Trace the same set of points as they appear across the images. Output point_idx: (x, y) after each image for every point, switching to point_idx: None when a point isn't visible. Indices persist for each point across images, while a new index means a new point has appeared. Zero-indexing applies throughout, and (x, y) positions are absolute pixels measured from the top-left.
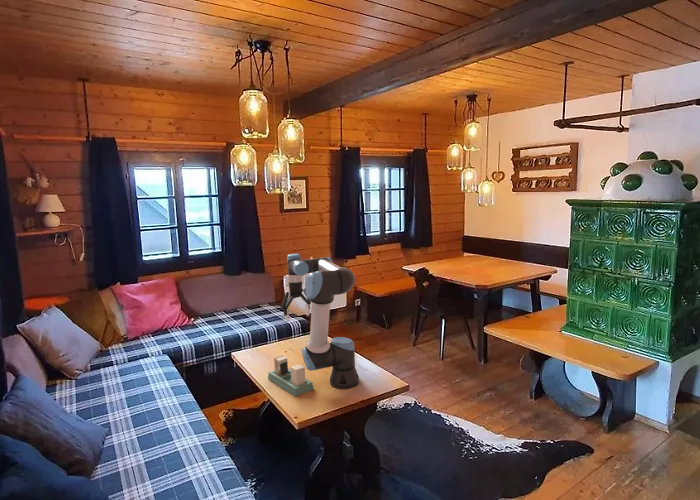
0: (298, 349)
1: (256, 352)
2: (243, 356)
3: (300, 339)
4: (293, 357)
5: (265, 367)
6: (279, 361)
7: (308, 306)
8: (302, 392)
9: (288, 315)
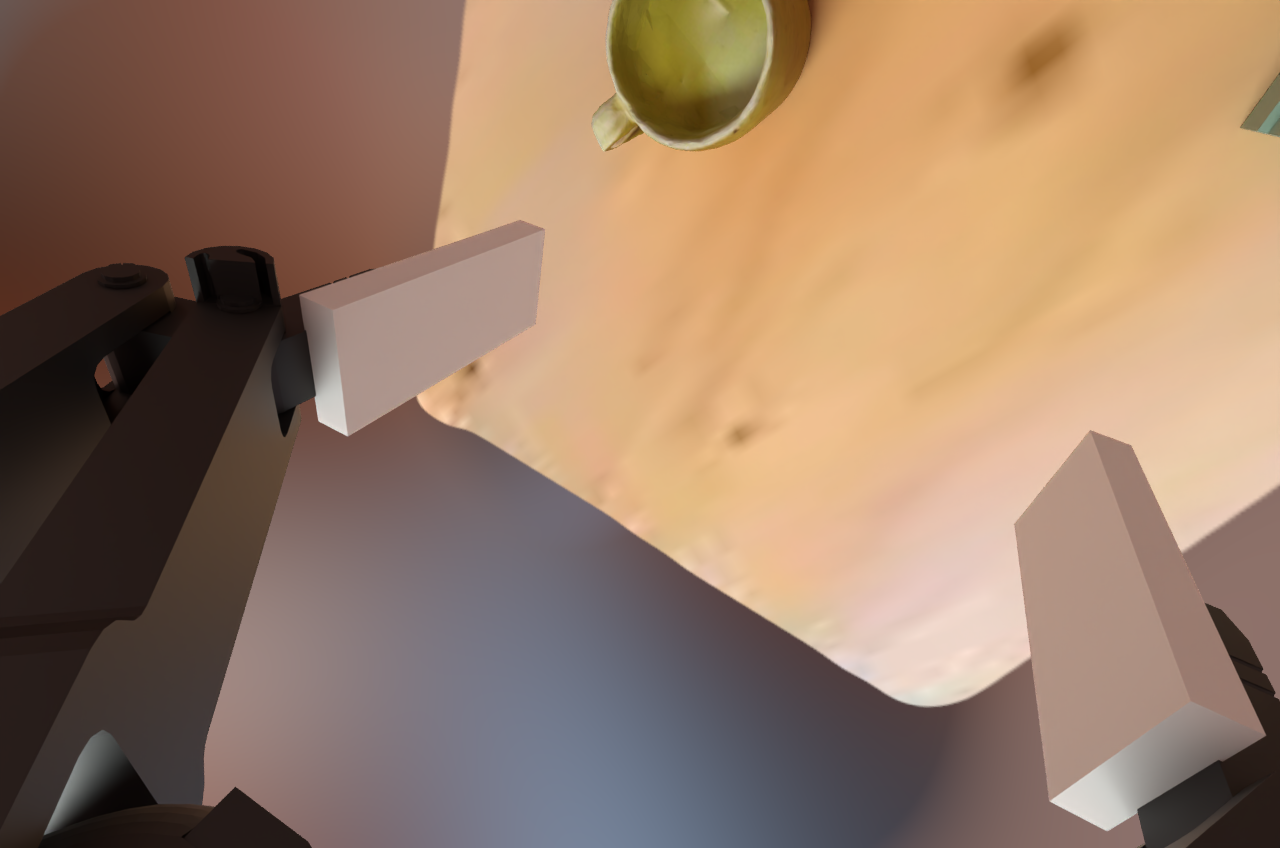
0: (668, 369)
1: (851, 607)
2: (953, 657)
3: (539, 447)
4: (815, 315)
5: (1125, 418)
6: None
7: (363, 280)
8: None
9: (1139, 531)
